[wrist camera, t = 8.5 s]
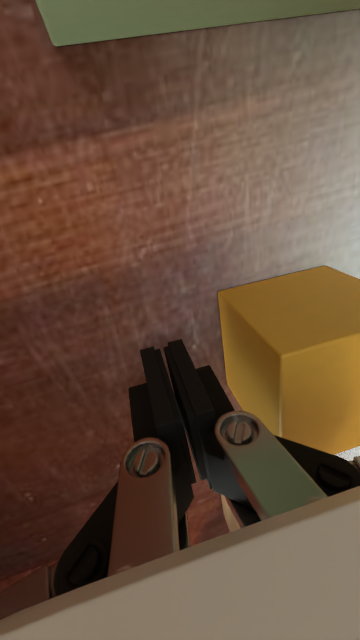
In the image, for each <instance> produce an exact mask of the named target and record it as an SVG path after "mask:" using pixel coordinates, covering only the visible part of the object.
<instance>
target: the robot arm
mask: <svg viewBox="0 0 360 640" xmlns="http://www.w3.org/2000/svg"><path fill="white" fill-rule="evenodd" d="M164 351H165V356H166V360H167V364H168V369H169V373H170V377H171V382H172V386H173V389H172V386H171V383H170V380H169V377H168V373H167V370H166V367H165V364H164V361H163V358H162V355H161V351H160V349H156V350H154V347H150V348H146V349H142V350H140V352H141V357H142V362H143V367H144V372H145V377H146V382H147V383H144V384H141V385H137V386H134V387H130V388H129V399H130V408H131V417H132V426H133V435H134V443H133V444H131V445H130V446H129V447H128V448H127V449H126V451H125V452H124V454H123V456H122V459H121V462H120V470H119V479H118V482H117V483H116V485H115V486H114V487H113V489H112V490H111V491H110V493H109V494H108V495H107V496H106V498H105V499H104V500H103V502H102V503H101V504H100V506H99V507H98V508H97V509H96V511H95V512H94V513H93V515H92V516H91V517H90V519H89V520H88V521H87V522H86V524H85V525H84V526H83V528H82V529H81V530H80V532H79V533H78V534H77V536H76V537H75V538H74V539H73V541H72V542H71V543H70V545H69V546H68V547H67V549H66V550H65V551H64V553H63V555H62V556H61V558H60V560H59V561H58V562H57V563H55V564H53V565H52V566H50V567H49V565H48V564H46V565H44V566H42V567H41V568H39V569H37V570H36V571H34V572H32V573H31V574H29V575H27V576H26V577H24V578H22V579H21V580H19V581H17V582H16V583H14V584H13V585H11V586H9V587H8V588H6V589H4V590H3V591H1V592H0V640H360V456H358V457H354V460H353V461H347V460H345V459H342V458H340V457H338V456H335V455H332V454H329V453H326V452H323V451H320V450H317V449H314V448H311V447H308V446H306V445H303V444H300V443H297V442H294V441H291V440H288V439H285V438H282V437H279V436H276V435H273V434H272V433H271V432H270V431H269V429H268V428H267V427H266V426H265V425H264V424H263V423H262V422H261V420H260V419H259V418H257V417H256V416H255V415H254V414H251V413H249V412H246V411H235V410H234V408H233V406H232V405H231V403H230V401H229V399H228V397H227V396H226V394H225V392H224V390H223V388H222V387H221V385H220V383H219V381H218V379H217V378H216V376H215V374H214V372H213V370H212V369H211V367H210V366H209V365H208V366H204V367H201V368H197V369H195V367H194V365H193V363H192V361H191V358H190V356H189V354H188V352H187V350H186V348H185V346H184V344H183V341H182V340H181V339H180V340H176V341H172V342H169V343H168V347H164ZM173 390H174V392H173ZM183 425H184V426H183ZM184 428H185V430H184ZM185 432H186V434H185ZM186 435H187V438H188V441H189V444H190V447H191V450H192V454H193V457H194V460H195V463H196V466H197V469H198V473H199V476H200V479H201V481H202V480H205V479H207V481H208V484H209V487H210V489H212V488H213V491H215V492H217V493H219V494H221V495H224V496H225V499H226V501H227V504H228V506H229V507H230V509H231V511H232V513H233V515H234V517H235V518H236V520H237V522H238V524H239V526H240V528H241V529H238V530H235V531H232V532H230V533H227V534H224V535H221V536H218V537H216V538H213V539H210V540H207V541H205V542H202V543H199V544H196V545H194V546H191V547H190V537H189V527H188V517H187V513H186V511H187V509H188V507H189V505H190V503H191V502H192V500H193V498H194V495H193V491H192V487H191V484H193V483H196V479H195V474H194V470H193V465H192V461H191V456H190V452H189V448H188V443H187V439H186Z"/></svg>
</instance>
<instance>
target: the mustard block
mask: <svg viewBox="0 0 360 640" xmlns="http://www.w3.org/2000/svg"><path fill="white" fill-rule="evenodd" d="M218 301H219V311H220V321H221V331H222V340H223V350H224V360H225V370H226V380H227V384H228V386H229V388H230V389H231V391H232V393H233V394H234V396H235V398H236V400H237V401H238V403H239V405H240V406H241V408H242V410H243V411H246V412H249V413H251V414H254V415H255V416H256V417H257V418H259V419H260V420H261V422H262V423H263V424H264V425H265V426H266V427H267V428H268V429H269V431H270V432H271V433H272V434H273V435H276V436H279V437H282V438H285V439H288V440H291V441H294V442H297V443H300V444H303V445H306V446H308V447H311V448H314V449H317V450H320V451H323V452H326V453H329V454H332V455H334V454H337V453H340V452H343V451H346V450H349V449H352V448H355V447H358V446H360V279H358V278H355V277H353V276H350V275H348V274H345V273H343V272H340V271H338V270H335V269H333V268H330V267H328V266H320V267H316V268H312V269H308V270H304V271H300V272H296V273H292V274H287V275H283V276H279V277H275V278H271V279H267V280H263V281H259V282H254V283H250V284H246V285H242V286H238V287H234V288H230V289H226V290H221V291H218Z"/></svg>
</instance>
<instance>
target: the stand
mask: <svg viewBox="0 0 360 640" xmlns="http://www.w3.org/2000/svg"><path fill="white" fill-rule="evenodd" d="M35 1H36V3H37V6H38V8H39V11H40V13H41V16H42V19H43V21H44V24H45V26H46V29H47V31H48V34H49V36H50V39H51V42H52V43H53V45H54V46H64V45H72V44H80V43H88V42H96V41H104V40H112V39H120V38H128V37H136V36H144V35H152V34H160V33H168V32H176V31H184V30H192V29H200V28H208V27H216V26H224V25H232V24H240V23H248V22H256V21H264V20H272V19H280V18H288V17H296V16H304V15H312V14H320V13H328V12H336V11H344V10H352V9H360V0H35Z"/></svg>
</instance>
